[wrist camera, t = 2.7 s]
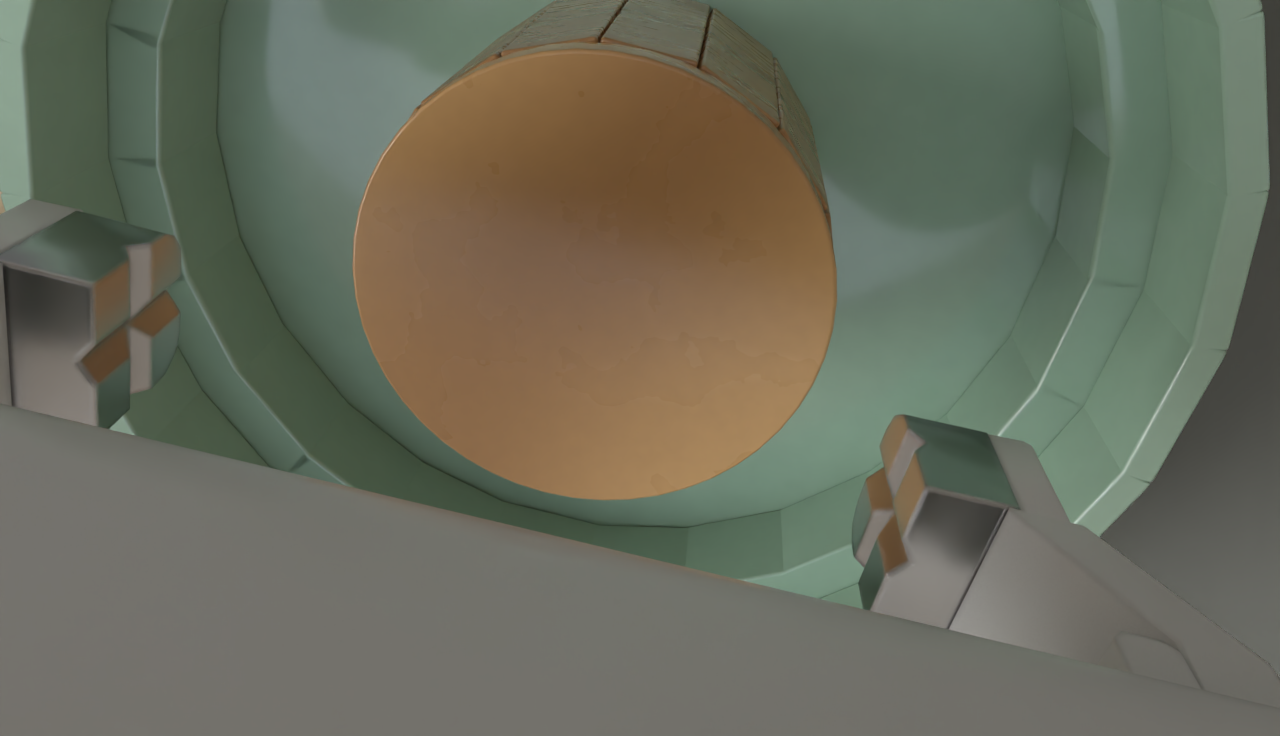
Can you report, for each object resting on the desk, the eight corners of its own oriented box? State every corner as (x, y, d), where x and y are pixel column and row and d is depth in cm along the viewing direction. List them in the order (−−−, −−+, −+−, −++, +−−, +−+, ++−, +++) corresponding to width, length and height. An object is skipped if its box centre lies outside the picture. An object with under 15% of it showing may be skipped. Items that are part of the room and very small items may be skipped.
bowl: (1360, -249, 14) (1592, -278, 10) (924, 639, 22) (962, 814, 18) (163, -575, 14) (-71, -736, 10) (157, 450, 22) (26, 587, 18)
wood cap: (866, 45, 16) (910, 125, 12) (755, 382, 19) (757, 546, 15) (479, -56, 16) (377, -13, 12) (427, 299, 19) (331, 440, 15)
